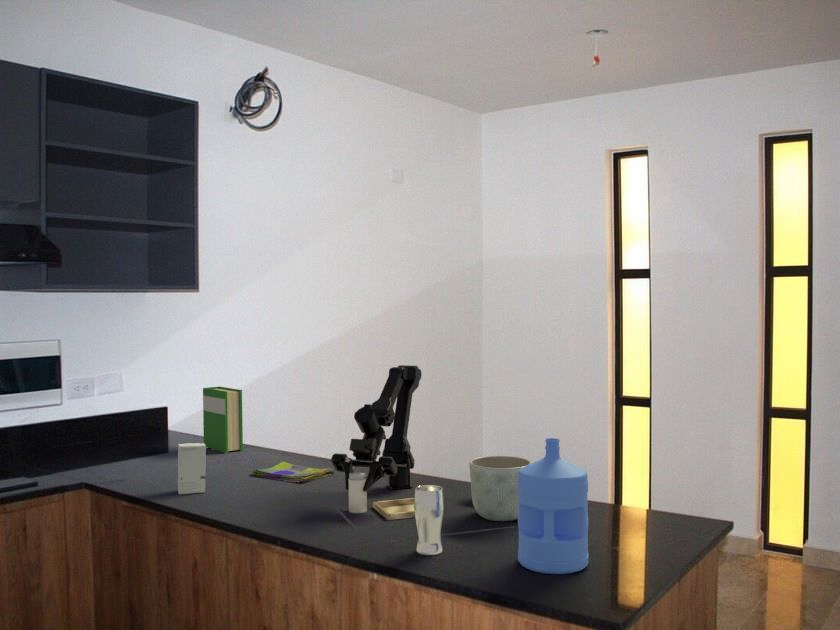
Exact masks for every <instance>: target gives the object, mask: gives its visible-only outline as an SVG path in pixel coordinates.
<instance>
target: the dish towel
mask: <svg viewBox="0 0 840 630" xmlns="http://www.w3.org/2000/svg"><path fill="white" fill-rule="evenodd" d="M251 472H252V473H250V476H255V475H256V476H255V477H259V476H261V478H265V477H266V479H269V478H273V479H272V480H275V479H278V480H277V481H280V480H284V481H283V482H287V481H289V482H288V483H296V482H297V483H296V484H299V483H300V482H303V483H307V482H311V481H314V480H313V479H315V480H318V479H321V477H322V478H325V477H329V476H328V475H330V476H332V475H331V474H333V475H334V474H335V470H334V469H333V468H313V467H307V466H302V465H298V464H292V463H288V462H286V461H281V462H280V463H278V464H276V465H273V466H272V467H269V468H262V469H253V470H252V471H251ZM317 478H318V479H317ZM310 480H311V481H310ZM306 481H307V482H306Z"/></svg>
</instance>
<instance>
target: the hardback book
mask: <svg viewBox="0 0 840 630" xmlns="http://www.w3.org/2000/svg"><path fill="white" fill-rule="evenodd" d="M202 405H203V406H202V408H203V409H202V410H203V411H202V413H203V416H202V417H203V421H202V422H203V443H204V444H205V445H206V447H208V448H211V449H214V450H217V451H216V452H218V451H220V452H219V453H222V452H224V453H223V454H225V453H227V454H229V452H231V451H238V450H239V451H238V452H243V451H244V447H243V446H244V445H243V443H244V440H243V437H244V436H243V431H244V430H243V429H244V428H243V390H242V389H238V388H230V387H225V386H210V387H203V388H202ZM211 449H210V450H211ZM214 450H213V451H214Z"/></svg>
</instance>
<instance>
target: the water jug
mask: <svg viewBox="0 0 840 630" xmlns="http://www.w3.org/2000/svg"><path fill="white" fill-rule="evenodd" d="M544 441H545V448H544V450H545V456H544V457H543V458H541V459H539V460H536V461H533V462H532V463H531V464H529V465H527V466H525V467H523V468H521V469H520V470H519V472H518V519H517V526H518V550H517V560H518V562H519V564H520V566H522V567H524V568H525V569H528V570H530V571H532V572H536V573H541V574H547V575H549V574H550V575H567V574H568V575H569V574H573V573H577V572H580V571H582V570H583V569H586V567H587V566H588V564H589V561H590V560H589V558H590V556H589V555H590V554H589V548H588V547H589V546H588V545H589V542H588V540H589V537H588V536H589V535H588V534H589V531H588V529H589V515H588V492H589V479H588V472H587V471H586V470H585V469H583V468H582V467H580V466H578V465H576V464H574V463H571V462H570V461H567V460H565V459H563V458H562V457H561V456H560V450H561V449H560V447H561V446H560V439H559V438H553V437H550V438H545V440H544Z"/></svg>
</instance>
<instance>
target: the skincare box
mask: <svg viewBox="0 0 840 630" xmlns="http://www.w3.org/2000/svg"><path fill="white" fill-rule="evenodd" d="M206 451H207V448H206V445H205V444H204V442H198V443H197V442H195V443H193V442H192V443H191V442H190V443H189V442H188V443H187V442H186V443H178V444H177V492H178V495H188V494H189V495H191V494H199V493H200V494H201V493H205V492H206V464H207V463H206V462H207V461H206V459H207V457H206V455H207V454H206V453H207V452H206Z"/></svg>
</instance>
